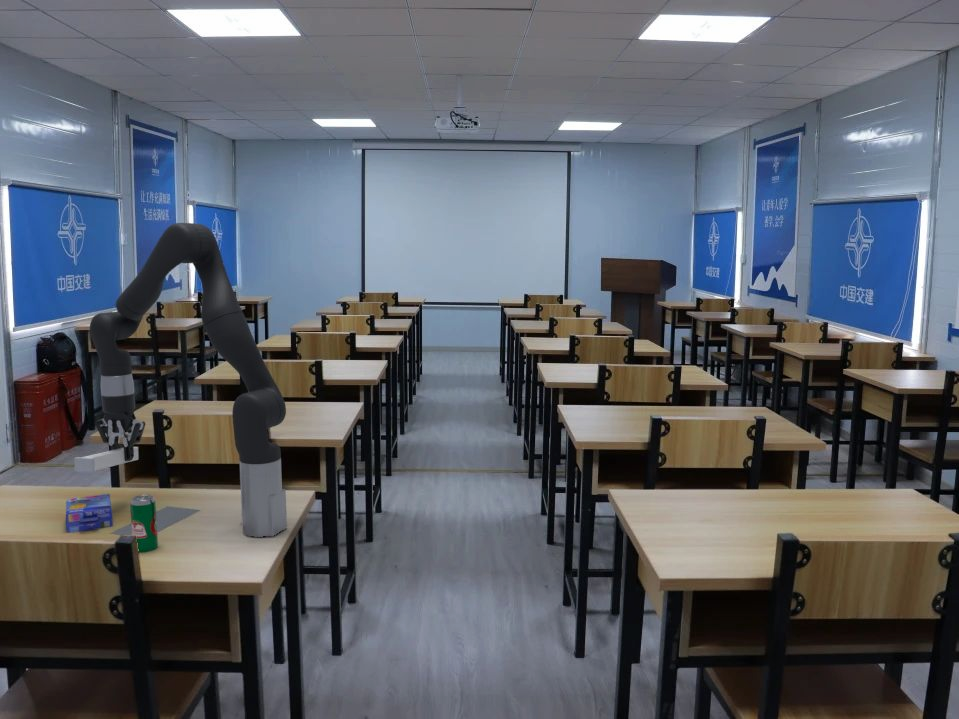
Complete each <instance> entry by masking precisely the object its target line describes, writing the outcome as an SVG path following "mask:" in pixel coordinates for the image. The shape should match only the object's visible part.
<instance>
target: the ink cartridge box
mask: <svg viewBox="0 0 959 719" xmlns="http://www.w3.org/2000/svg"><path fill="white" fill-rule="evenodd" d="M65 504H66V505H65V509H66V510H65V527H66V528H65V529H66V534H67V533H68V534H70V533H76V532H77V533H78V532H84V531H90V530H97V529H104V528H110V527H111V528H112V527H113V522H114V521H113V507H112V501H111V494H110V493H103V494H94V495H86V496H78V497H69V498H67V499H66V502H65Z"/></svg>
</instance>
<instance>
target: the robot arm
mask: <svg viewBox="0 0 959 719" xmlns="http://www.w3.org/2000/svg"><path fill="white" fill-rule="evenodd" d="M181 264H193V266H194V268H195V270H196V273H197V275H198V277H199V279H200V282H201V287H202V297H201V298H202V299H201V300H202V301H201V309H200V310H201V311H200V313H201V314H200V315H201V321H202V325H203V327H204V330H205V332H206V335H207V336H208V339H209V342H210V343H211V345H212V347H213V348H214V349H215V351H216V352H217V354H218V355H220V356H221V357H222V358H223V359H224V360H225V361H226V362H227V363H228V364H229V365H230V366H231V367H232V368H233V369H234V370H235V371H236V372H237V373H238V374H239V375H240V377H241V379H242V381H243V383H244V385H245V387H246V389H247V392H245V393H242V394H240V395H238V396H237V397H236V399H235V400H234V402H233V406H232V412H231V413H232V417H231V418H232V425H233V437H234V445H235V449H236V451H237V453H238V456H239V457H238V458H239V480H240V481H239V484H240V503H241V505H240V506H241V525H242V533H244V534H243V535H244V536H247V535H248V536H247V537H250V536H254V537H253V538H264V537H263V536H266V537H275V536H276V534H277V533H278V534H280V533H281V532H283V531H284V530H286V529H287V528H288V521H287V520H288V519H287V517H288V516H287V492H286V488H283V485H282V484H283V483H282V481H283V480H282V458H281V457H282V455H281V454H282V453H281V451H282V450H281V447H280V446H279V444H277V443H273V442H270V441H269V434H268V432H269V431H268V429H270V428H271V429H272V428H273V427H276V426H278V425H280V424H282V422H283V421H285V418H286V414H287V408H286V406H287V405H286V402H285V400H284V397H283V394H282V392H281V391H280V388H279V387H278V385H277V383H276V382H275V380H274V378H273V376H272V374H271V373H270V370H269V369H268V366H267V365H266V363H265V361H264V359H263V357H262V354H261V352H260V350H259V347H258V345H257V343H256V341H255V339H254V336H253V335H252V331H251V329H250V326H249V324H248V321H247V318H246V317H245V314H244V312H243V310H242V307H241V306H240V303H239V302H238V301H239V300H238V298H237V296H236V294H235V290H234V288H233V286H232V284H231V281H230V279H229V276H228V272H227V269H226V267H225V264H224V260H223V257H222V254H221V250H220V247H219V244H218V241H217V238H216V236H215V235H214V233H213V231H212V230H211V229H210V228H209V227H208V226H206V225H205V224H202V223H195V222H194V223H193V222H191V223H189V222H176V223H172V224H170V225H169V226H168V227H167V228H166V229H165V230H164V231H163V233H162V234H161V236H160V237H159V239H158V241H157V243H156V244H155V246H154V248H153V249H152V251H151V253H150V254H149V256H148V258H147V259H146V261H145V263H144V264H143V266H142V268H141V270H140V271H139V272H138V274H137V275H136V277H135V278H134V279H133V280H132V281H131V282H130V283H129V284H128V286H127V287H126V288H125V289H124V290H123V291H122V292H121V294H120V295H119V296H118V297H117V299H116V301H115V309H116V310H117V311H109V312H108V311H107V312H100V313H97V314H96V315H94V316H93V317H92V318H91V320H90V324H89V333H90V337H91V340H92V342H93V345H94V348H95V351H96V353H97V356H98V359H99V366H100V395H101V396H100V397H101V407H102V408H101V410H102V412H103V413H104V415H103V418H102V419H98V420H96V421H95V422H94V425H95V426H96V429H97V431H98V433H99V435H100V438H101V440H102V442H103V443H104V444H108V445H109V446H110V451H111V450H115V449H119V448H122V446H121V444H120V441H121V439H122V443H123V444H122V445H123V448H124V457H125V461H130V460H132V459H133V457H134V449H133V447H134V445H136V444H138V443H140V442H141V439H142V437H143V433H144V431H145V427H146V422H145V421H139V420H138V419H137V416H136V415H135V409H136V397H135V394H136V393H135V381H134V378H133V372H132V358H131V354H130V352H129V351H128V350H126V349H119V346H118V345H117V341H120V340H127V339H128V338H131V337H132V336H133V335H135V333H136V332H137V331H138V328H139V326H140V324H141V322H142V320H143V318H144V315H145V314H146V313H147V312H148V311H149V310H150V309H151V308H152V307H153V306H154V304H155V303H157V301H158V300H159V298H160V296H161V294H162V291H163V286H164V282H165V279H166V278H167V276H168V274H169V273H170V272H172V270H174V269H175V268H176V267H178V266H179V265H181ZM286 527H287V528H286ZM285 528H286V529H285ZM282 530H283V531H282ZM280 531H281V532H280ZM279 532H280V533H279ZM278 534H277V535H278ZM274 535H275V536H274Z"/></svg>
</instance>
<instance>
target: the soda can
mask: <svg viewBox="0 0 959 719" xmlns="http://www.w3.org/2000/svg"><path fill="white" fill-rule="evenodd" d="M129 504H130V505H129V508H130V518H131V522H130V524H131V523H132V535H136V536H137V543H138V549H139V552H138V553H147V552H152V551H155V550H156V549H158V548H159V539H158V538H159V537H158V532H157V518H156V511H157V505H156V504H157V503H156V499H155V498H154V495H152V494H140V495H136V496H133V497H132V498H131V502H130V503H129Z"/></svg>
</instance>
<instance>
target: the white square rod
mask: <svg viewBox="0 0 959 719" xmlns="http://www.w3.org/2000/svg"><path fill="white" fill-rule="evenodd" d="M133 449H134V457H133V459H132V460H130V461H125V457H124V447H121V448H119V449H115V450H111V449H110V450H107V451H103V452H98V453H95V454H89V455H85V456H82V457H81V456H80V457H79V456H76V457H74V462H73V463H74V472H80V473H95V472H96V471H99V470H103V469H106V468H110V467H114V466H115V467H116V466H118V465H123V464H126V463H130V462H131V463H132V462H134V461H138V460H139V446H133Z"/></svg>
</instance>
